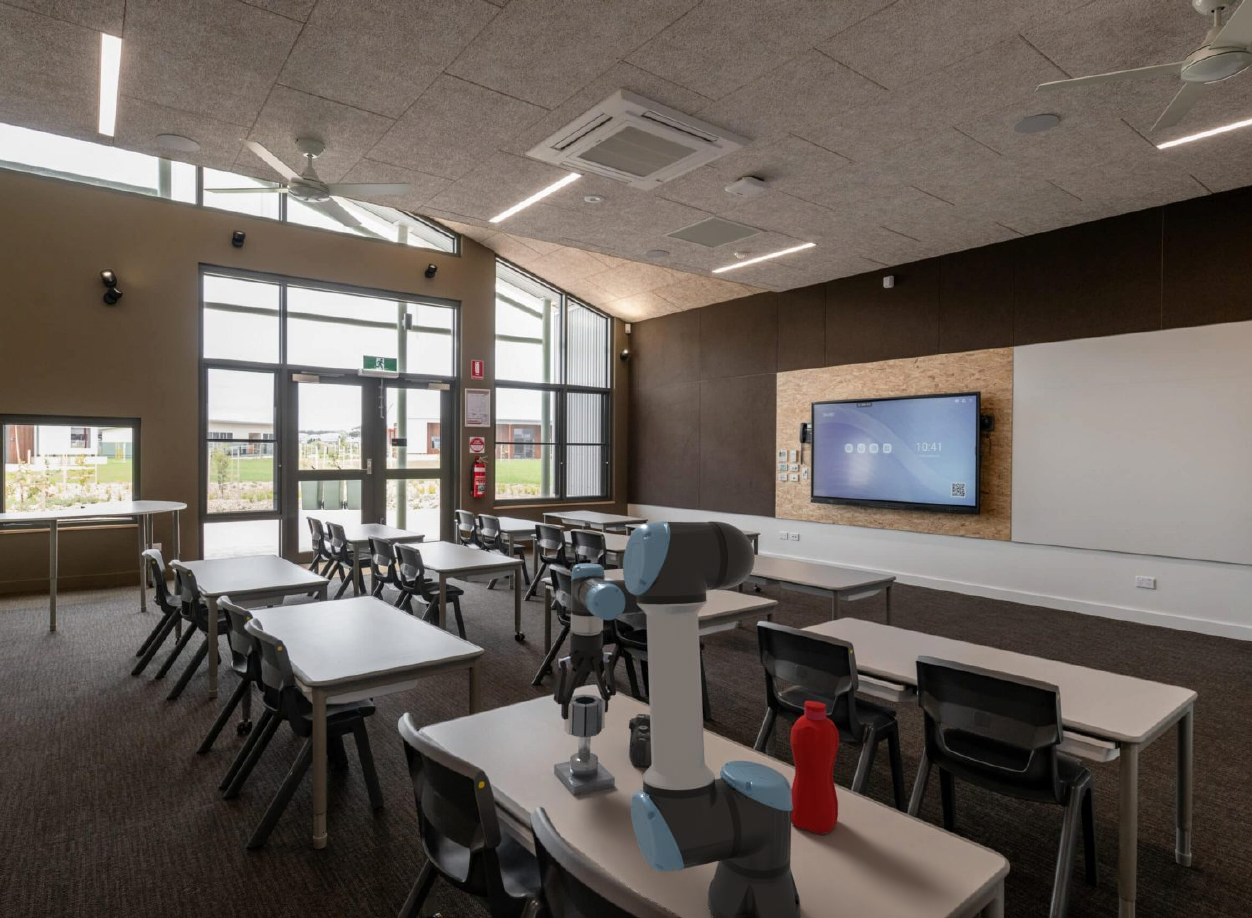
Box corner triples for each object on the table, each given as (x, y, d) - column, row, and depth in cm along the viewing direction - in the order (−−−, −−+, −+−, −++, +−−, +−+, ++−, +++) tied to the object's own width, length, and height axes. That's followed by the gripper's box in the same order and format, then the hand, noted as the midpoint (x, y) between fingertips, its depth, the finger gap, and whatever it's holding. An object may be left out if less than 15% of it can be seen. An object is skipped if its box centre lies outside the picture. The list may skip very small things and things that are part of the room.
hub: (606, 733, 157) (606, 703, 157) (576, 739, 154) (576, 708, 154) (592, 721, 164) (593, 692, 164) (563, 727, 161) (564, 697, 160)
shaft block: (614, 786, 156) (615, 719, 156) (574, 795, 151) (575, 726, 151) (592, 764, 167) (593, 702, 166) (554, 772, 162) (555, 708, 162)
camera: (672, 764, 168) (673, 723, 168) (634, 770, 164) (635, 728, 164) (651, 742, 180) (652, 704, 180) (616, 747, 177) (616, 709, 177)
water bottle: (842, 815, 145) (845, 697, 145) (829, 840, 136) (832, 714, 135) (799, 803, 150) (802, 689, 150) (784, 826, 140) (786, 704, 140)
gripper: (618, 623, 167) (616, 716, 167) (539, 631, 157) (537, 730, 158) (633, 630, 160) (630, 727, 160) (551, 639, 151) (549, 743, 151)
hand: (584, 729), depth 159 cm, fingers closed on hub, 7 cm apart
